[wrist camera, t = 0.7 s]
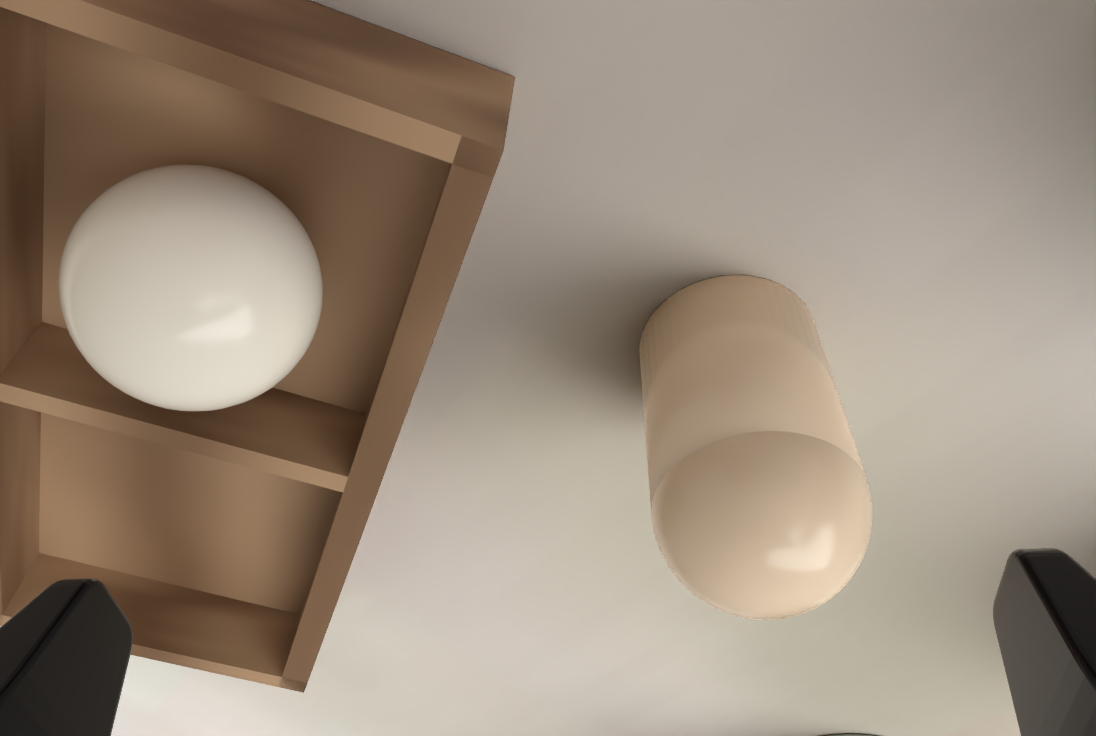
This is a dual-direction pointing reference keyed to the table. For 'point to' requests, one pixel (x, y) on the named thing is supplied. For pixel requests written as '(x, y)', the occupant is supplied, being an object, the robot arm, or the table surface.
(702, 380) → the cylinder
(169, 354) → the ball
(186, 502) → the crate
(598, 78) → the table surface
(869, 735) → the canned tomato
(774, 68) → the table surface
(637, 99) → the table surface
